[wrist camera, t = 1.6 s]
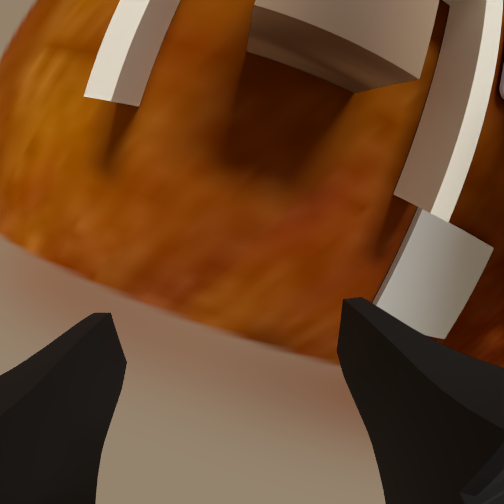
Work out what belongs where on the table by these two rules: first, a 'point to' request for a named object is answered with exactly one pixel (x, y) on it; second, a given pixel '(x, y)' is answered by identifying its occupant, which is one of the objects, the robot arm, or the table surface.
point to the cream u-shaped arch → (433, 117)
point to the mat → (432, 275)
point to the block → (346, 38)
